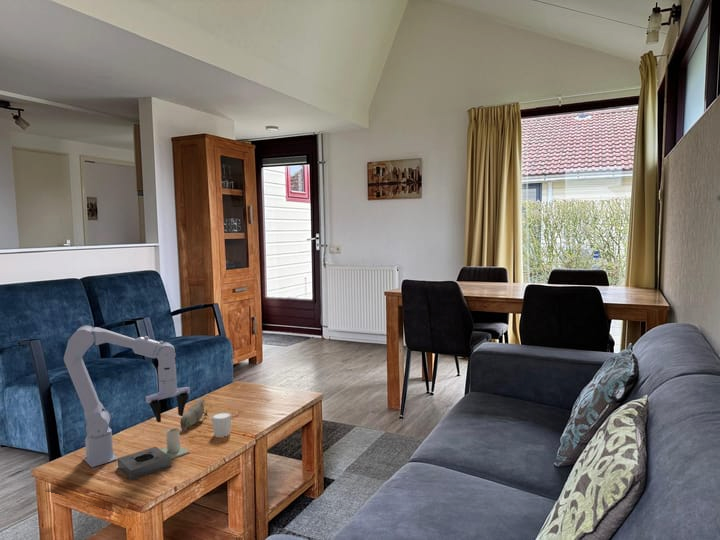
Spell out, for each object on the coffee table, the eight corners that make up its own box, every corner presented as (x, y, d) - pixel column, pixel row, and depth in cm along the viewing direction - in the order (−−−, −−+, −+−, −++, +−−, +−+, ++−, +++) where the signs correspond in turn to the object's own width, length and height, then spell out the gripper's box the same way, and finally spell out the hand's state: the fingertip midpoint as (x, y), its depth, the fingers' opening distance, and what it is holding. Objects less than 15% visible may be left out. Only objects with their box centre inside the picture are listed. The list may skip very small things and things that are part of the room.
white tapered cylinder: (211, 432, 185) (210, 413, 184) (230, 429, 187) (230, 411, 187) (213, 439, 178) (212, 420, 178) (233, 436, 181) (232, 417, 180)
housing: (118, 467, 158) (117, 458, 158) (156, 455, 166) (155, 446, 166) (131, 480, 149) (131, 470, 149) (171, 466, 158) (170, 457, 158)
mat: (157, 451, 169) (157, 450, 169) (178, 445, 174) (177, 443, 174) (168, 459, 163) (168, 458, 163) (189, 452, 168) (189, 451, 167)
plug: (165, 450, 168) (164, 429, 168) (177, 447, 171) (176, 426, 171) (170, 454, 165) (169, 432, 165) (181, 450, 168) (180, 429, 168)
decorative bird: (176, 432, 187) (175, 412, 186) (197, 416, 203) (196, 398, 202) (189, 432, 186) (188, 412, 185) (210, 417, 202) (209, 398, 201)
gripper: (150, 386, 162) (153, 427, 163) (193, 376, 172) (195, 415, 173) (142, 382, 168) (144, 422, 168) (184, 373, 178) (186, 410, 178)
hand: (169, 418), depth 171 cm, fingers open, 7 cm apart
